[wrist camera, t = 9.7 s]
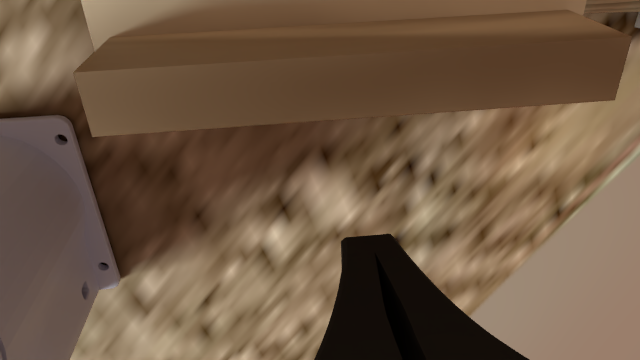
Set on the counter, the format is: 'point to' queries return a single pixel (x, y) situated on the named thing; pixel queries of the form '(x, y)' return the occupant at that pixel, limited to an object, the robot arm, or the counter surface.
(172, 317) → the counter surface
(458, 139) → the counter surface
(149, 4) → the lid
